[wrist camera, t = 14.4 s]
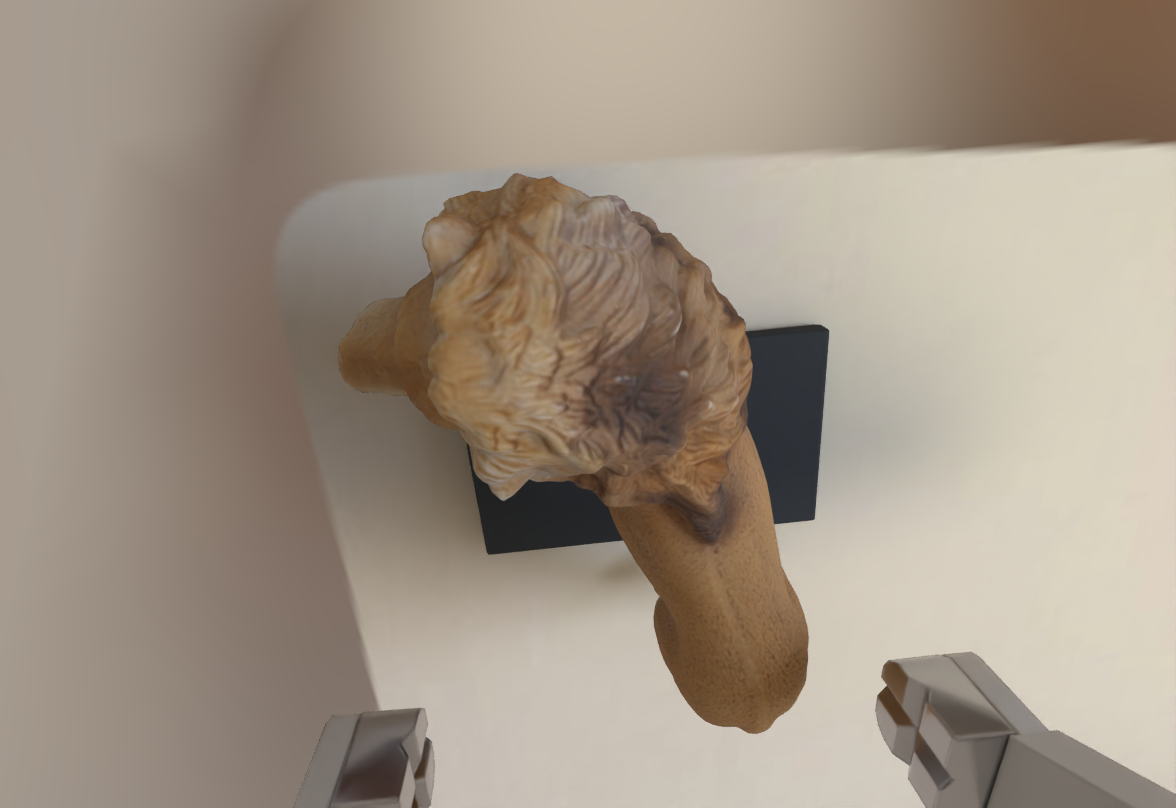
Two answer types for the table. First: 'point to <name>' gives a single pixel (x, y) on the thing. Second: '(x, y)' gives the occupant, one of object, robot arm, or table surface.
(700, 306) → the lion figurine
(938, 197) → the table surface
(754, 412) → the mat
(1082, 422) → the table surface
